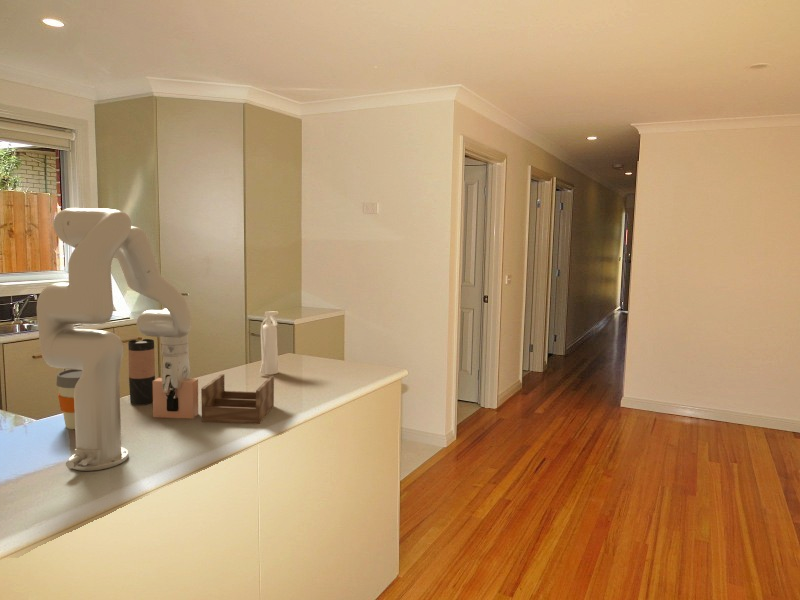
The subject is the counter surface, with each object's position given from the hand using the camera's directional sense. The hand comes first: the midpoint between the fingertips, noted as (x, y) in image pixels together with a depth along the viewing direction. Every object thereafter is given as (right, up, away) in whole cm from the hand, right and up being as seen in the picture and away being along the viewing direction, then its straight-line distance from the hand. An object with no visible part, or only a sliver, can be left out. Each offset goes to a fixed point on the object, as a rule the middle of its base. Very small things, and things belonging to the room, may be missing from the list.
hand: (176, 407), depth 165 cm
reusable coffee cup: (-22, -3, -9) cm, 24 cm away
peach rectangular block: (0, -2, 0) cm, 2 cm away
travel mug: (-16, -1, +12) cm, 20 cm away
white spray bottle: (+15, +3, +54) cm, 56 cm away
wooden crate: (+18, -3, +4) cm, 19 cm away
